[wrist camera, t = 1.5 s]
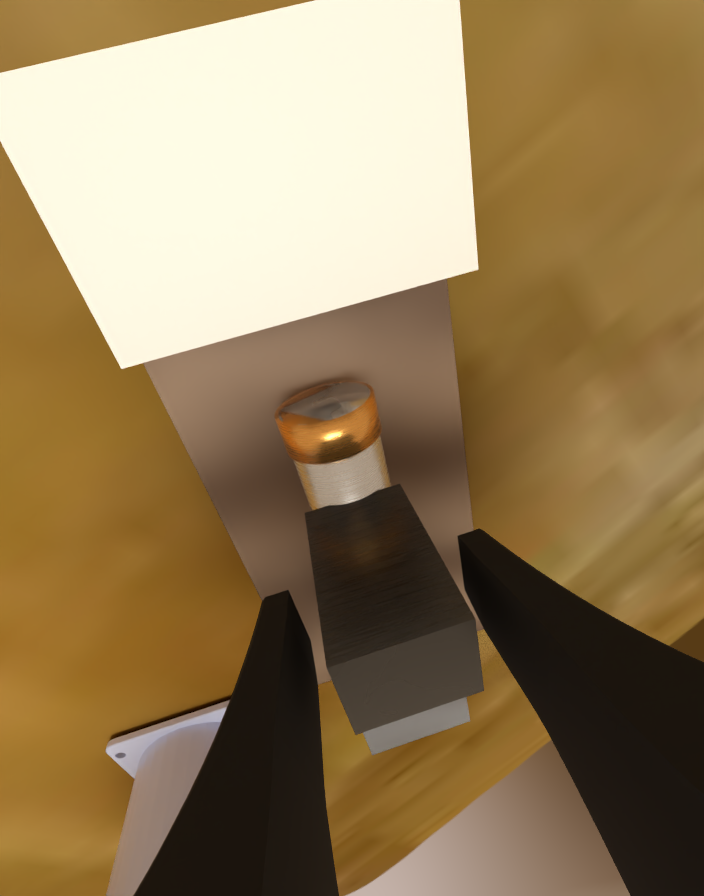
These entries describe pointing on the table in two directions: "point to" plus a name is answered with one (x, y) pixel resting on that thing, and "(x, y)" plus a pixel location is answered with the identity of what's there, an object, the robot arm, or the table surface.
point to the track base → (274, 473)
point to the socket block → (251, 168)
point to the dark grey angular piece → (375, 567)
